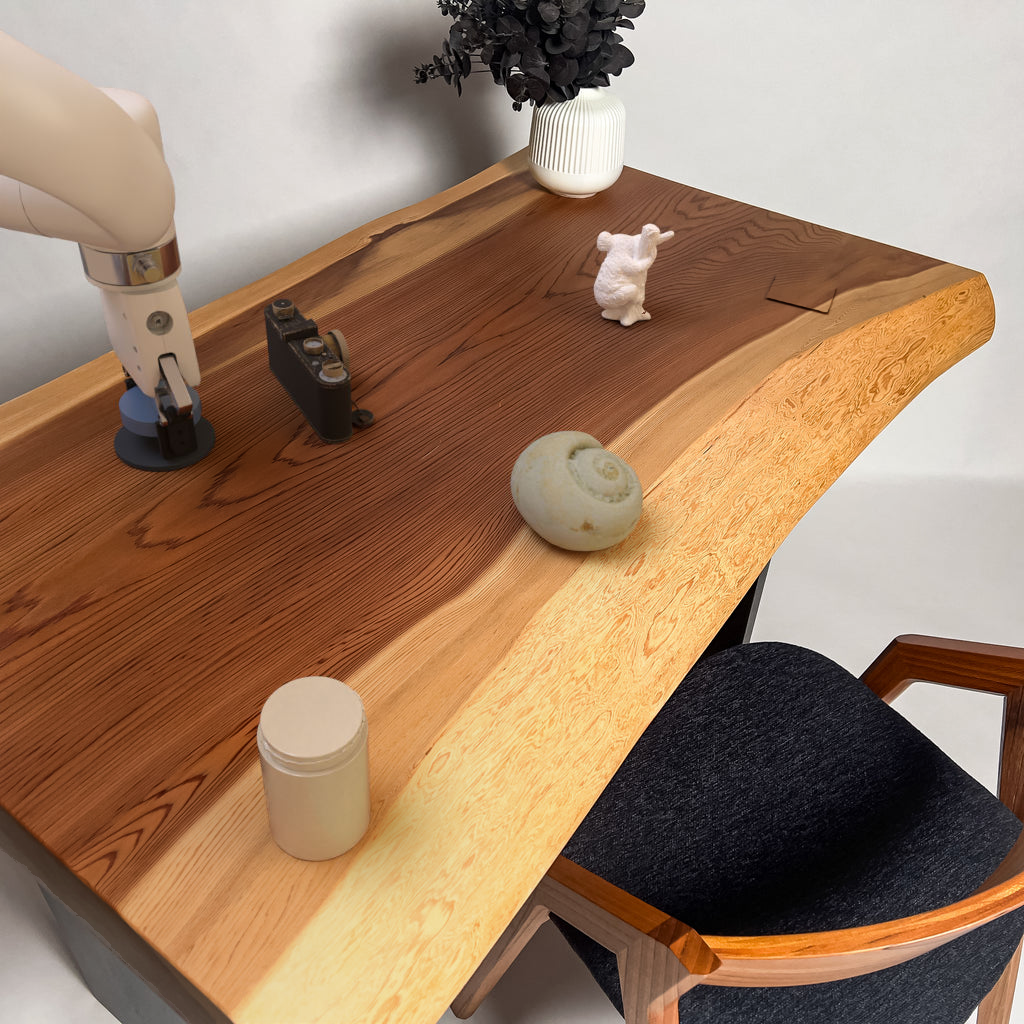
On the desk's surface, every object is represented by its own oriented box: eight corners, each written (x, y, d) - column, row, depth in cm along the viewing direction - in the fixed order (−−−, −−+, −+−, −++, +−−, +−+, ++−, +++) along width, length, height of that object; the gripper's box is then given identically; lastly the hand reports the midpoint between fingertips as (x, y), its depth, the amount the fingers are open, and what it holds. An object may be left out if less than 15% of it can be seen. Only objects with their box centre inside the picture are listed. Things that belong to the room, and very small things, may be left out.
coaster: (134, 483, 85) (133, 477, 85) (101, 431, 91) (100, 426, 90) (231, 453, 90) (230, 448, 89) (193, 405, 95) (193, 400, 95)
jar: (297, 880, 58) (285, 781, 52) (252, 802, 62) (235, 700, 56) (388, 828, 62) (388, 729, 55) (341, 757, 65) (335, 656, 59)
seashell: (670, 461, 82) (596, 496, 75) (654, 539, 86) (582, 579, 79) (558, 407, 89) (482, 435, 82) (548, 482, 93) (474, 514, 86)
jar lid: (197, 391, 92) (195, 377, 91) (206, 431, 87) (205, 417, 86) (119, 399, 90) (116, 385, 89) (124, 441, 85) (121, 426, 84)
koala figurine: (662, 313, 117) (680, 219, 110) (649, 338, 112) (667, 242, 105) (595, 297, 119) (609, 203, 111) (580, 321, 114) (593, 225, 106)
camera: (385, 431, 94) (384, 361, 89) (321, 448, 91) (317, 377, 86) (319, 350, 105) (316, 283, 99) (260, 363, 102) (253, 295, 96)
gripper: (218, 290, 75) (241, 470, 86) (139, 206, 85) (169, 377, 96) (120, 312, 71) (158, 497, 83) (50, 221, 81) (93, 397, 93)
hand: (164, 431), depth 89 cm, fingers closed on jar lid, 6 cm apart
